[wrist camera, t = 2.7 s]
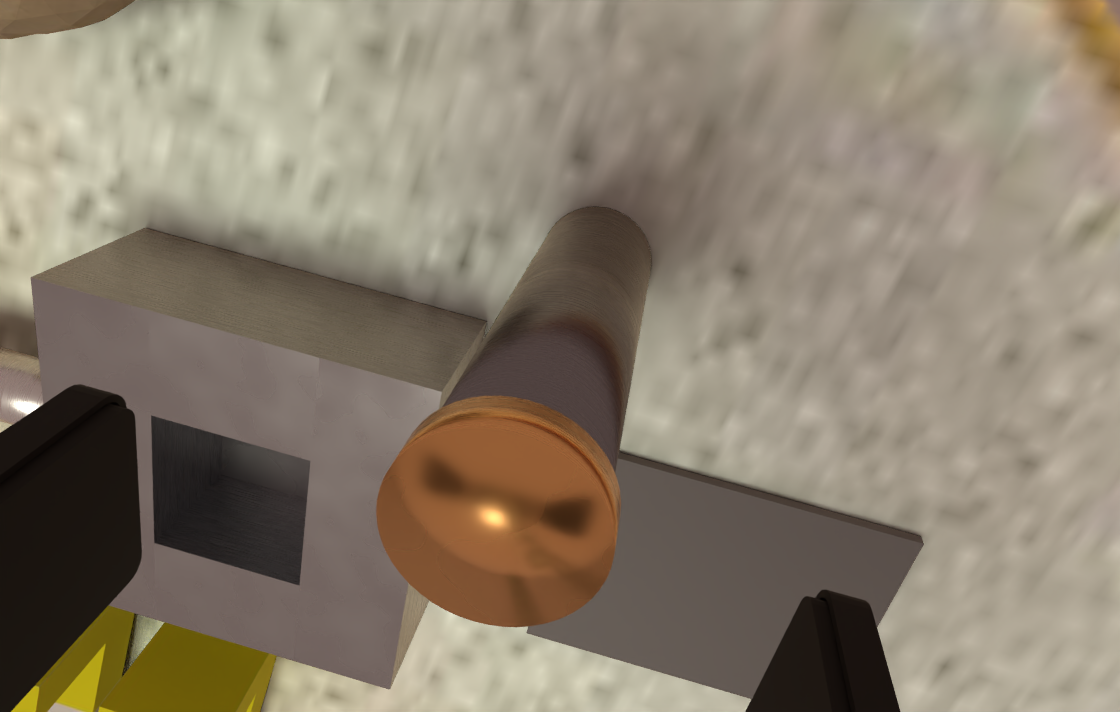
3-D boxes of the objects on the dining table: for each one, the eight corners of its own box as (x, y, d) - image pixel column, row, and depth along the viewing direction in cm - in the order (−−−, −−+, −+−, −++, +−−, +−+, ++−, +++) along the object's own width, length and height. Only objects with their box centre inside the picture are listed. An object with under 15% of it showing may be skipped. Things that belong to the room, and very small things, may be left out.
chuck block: (486, 321, 26) (441, 392, 21) (434, 588, 31) (389, 689, 27) (-49, 175, 27) (-200, 213, 22) (-9, 459, 32) (-124, 536, 27)
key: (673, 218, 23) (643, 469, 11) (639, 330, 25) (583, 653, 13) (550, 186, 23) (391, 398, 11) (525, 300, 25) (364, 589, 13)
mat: (920, 536, 26) (923, 543, 26) (823, 711, 30) (824, 720, 30) (579, 441, 27) (578, 447, 27) (528, 625, 31) (526, 633, 31)
